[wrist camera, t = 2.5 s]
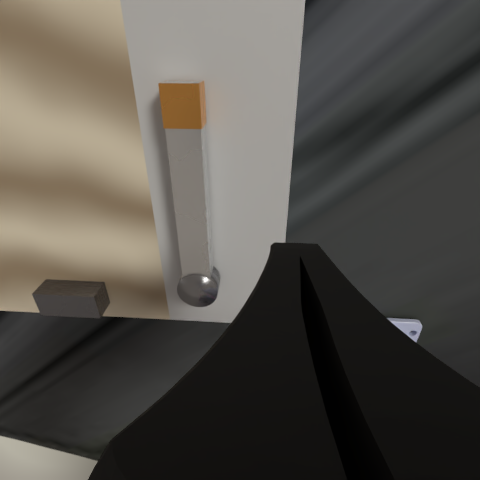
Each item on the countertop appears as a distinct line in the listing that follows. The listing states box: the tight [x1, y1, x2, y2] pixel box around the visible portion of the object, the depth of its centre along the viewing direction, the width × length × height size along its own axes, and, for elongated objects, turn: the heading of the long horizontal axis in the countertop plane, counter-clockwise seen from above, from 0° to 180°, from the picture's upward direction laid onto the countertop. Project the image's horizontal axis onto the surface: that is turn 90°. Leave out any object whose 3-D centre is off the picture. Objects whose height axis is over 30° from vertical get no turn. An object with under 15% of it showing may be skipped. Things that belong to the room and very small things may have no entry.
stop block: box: [32, 279, 110, 318], centre depth 21 cm, size 2×4×2 cm, turn 90°
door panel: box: [0, 0, 170, 320], centre depth 19 cm, size 18×12×2 cm
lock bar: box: [158, 80, 221, 307], centre depth 17 cm, size 12×2×1 cm, turn 0°
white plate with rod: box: [120, 0, 305, 323], centre depth 18 cm, size 18×8×2 cm, turn 0°
